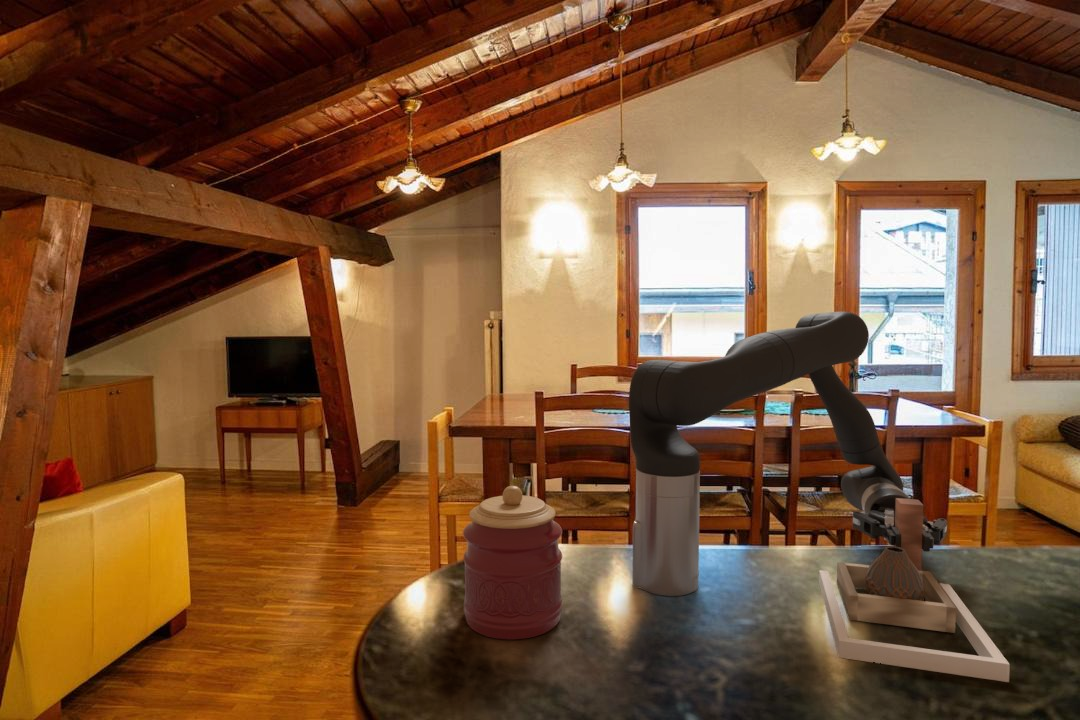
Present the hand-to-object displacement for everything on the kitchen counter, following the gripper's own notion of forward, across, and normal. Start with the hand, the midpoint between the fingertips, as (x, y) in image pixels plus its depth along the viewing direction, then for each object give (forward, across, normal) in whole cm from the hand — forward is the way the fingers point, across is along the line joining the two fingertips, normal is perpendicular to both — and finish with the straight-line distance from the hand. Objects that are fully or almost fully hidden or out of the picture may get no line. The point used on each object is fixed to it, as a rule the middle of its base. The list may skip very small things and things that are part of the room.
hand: (912, 543), depth 92 cm
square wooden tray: (+4, -4, +7) cm, 9 cm away
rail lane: (+12, -4, +7) cm, 14 cm away
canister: (+25, -52, +7) cm, 58 cm away
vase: (+9, -4, +7) cm, 12 cm away
